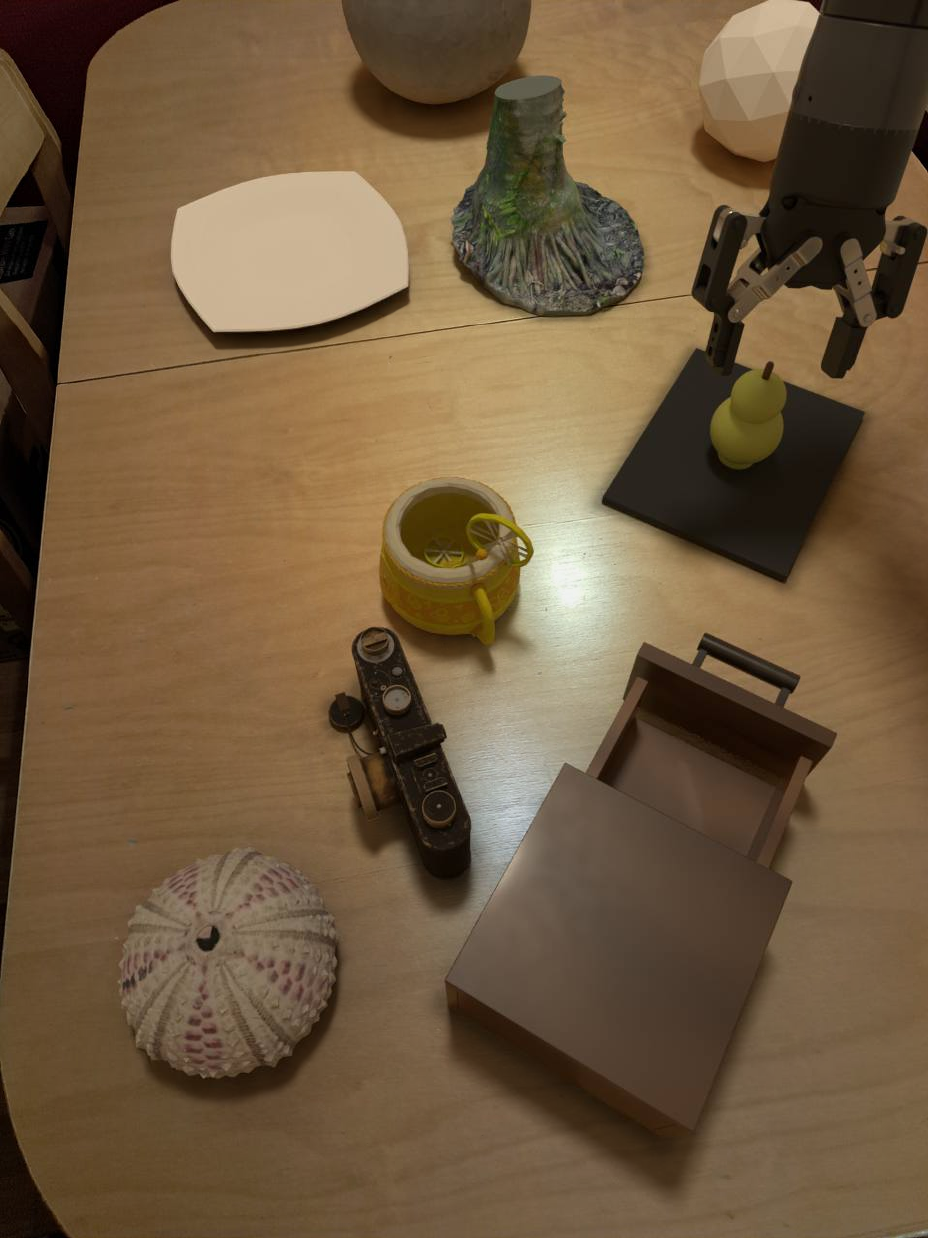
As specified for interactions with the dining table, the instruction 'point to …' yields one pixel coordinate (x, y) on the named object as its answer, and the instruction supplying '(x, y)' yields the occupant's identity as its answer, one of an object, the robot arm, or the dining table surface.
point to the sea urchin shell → (228, 964)
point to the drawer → (727, 719)
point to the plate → (288, 252)
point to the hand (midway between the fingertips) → (776, 373)
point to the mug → (451, 557)
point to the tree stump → (542, 215)
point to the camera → (404, 755)
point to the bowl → (438, 44)
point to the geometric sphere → (755, 76)
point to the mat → (734, 471)
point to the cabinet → (619, 951)
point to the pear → (750, 419)
